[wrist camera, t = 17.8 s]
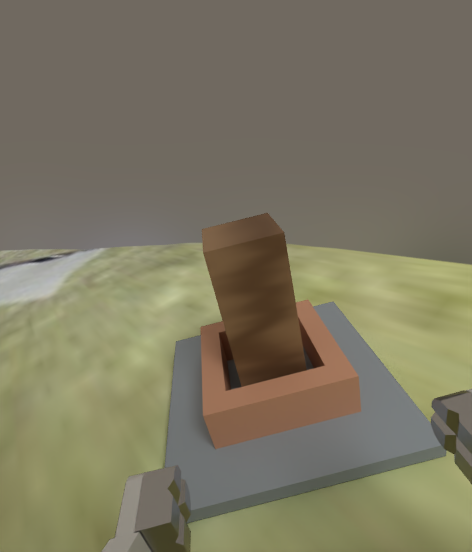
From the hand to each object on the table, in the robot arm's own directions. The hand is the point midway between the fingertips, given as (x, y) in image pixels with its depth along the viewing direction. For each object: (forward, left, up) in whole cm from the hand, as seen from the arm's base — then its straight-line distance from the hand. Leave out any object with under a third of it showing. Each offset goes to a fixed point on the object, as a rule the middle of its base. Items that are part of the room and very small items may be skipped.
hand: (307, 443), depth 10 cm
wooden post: (0, +12, -9) cm, 15 cm away
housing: (0, +12, -10) cm, 15 cm away
